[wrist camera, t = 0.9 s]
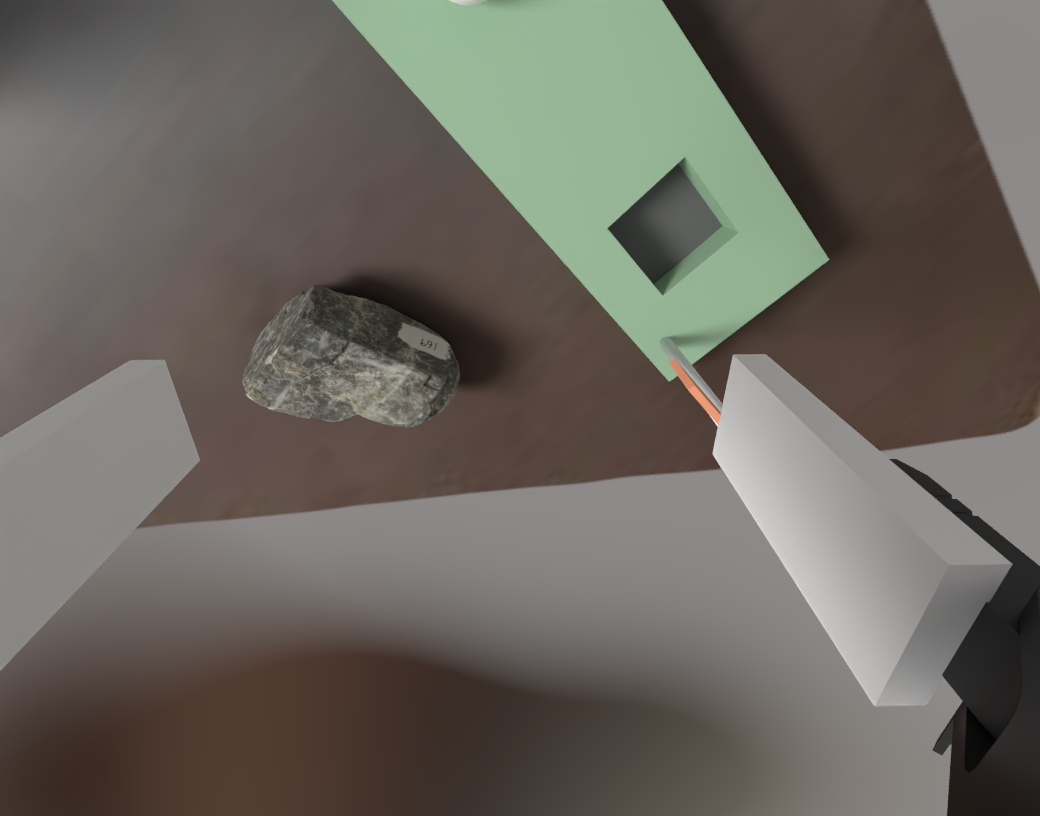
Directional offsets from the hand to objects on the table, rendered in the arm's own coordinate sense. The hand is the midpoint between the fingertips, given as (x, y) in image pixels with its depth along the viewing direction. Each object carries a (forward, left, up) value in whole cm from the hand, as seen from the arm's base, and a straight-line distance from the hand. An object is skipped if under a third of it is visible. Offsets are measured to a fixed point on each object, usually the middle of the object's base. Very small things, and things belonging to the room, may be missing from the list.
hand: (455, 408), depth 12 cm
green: (-2, +9, -24) cm, 26 cm away
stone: (-1, -12, -25) cm, 27 cm away
